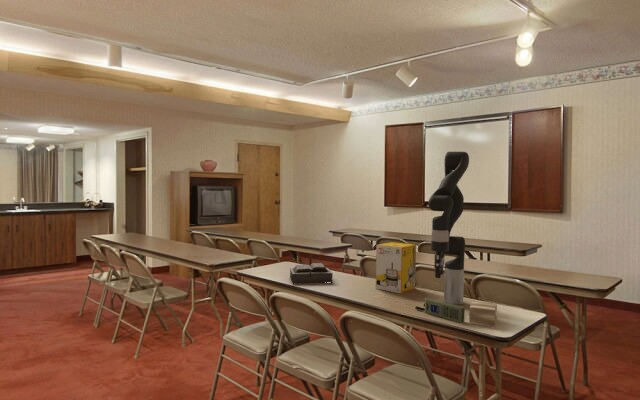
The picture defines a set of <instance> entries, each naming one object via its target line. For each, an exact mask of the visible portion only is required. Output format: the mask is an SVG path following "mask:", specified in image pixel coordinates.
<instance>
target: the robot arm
mask: <svg viewBox="0 0 640 400" xmlns="http://www.w3.org/2000/svg"><path fill="white" fill-rule="evenodd" d="M469 164H470V155H469V154H468V152H466V151H447V152H446V153H445V156H444V177H443V178H442V180H441V181H440V183H439V185H438V188H437V189H436V190H435V191H434V192H433V193H432V194H431V195H430V197H429V199H428V209H430V210H431V211H433V212H442V214H441V215H437V216H434V217H433V218H432V220H431V221H432V222H431V223H432V224H431V226H432V227H431V235H430V236H431V237H430V239H431V241H430V243H431V244H430V250H431V251H432V252H435V253H436V254H434V270H435V273H434V274H435V275H434V276H435V278H436V279H441V277H442V276H443V275H444V283H443V285H444V286H443V287H444V290H443V291H444V293H443V302H444V303H448V304H452V305H456V306H460V305H463V304H464V289H465V288H464V285H465V284H464V283H465V282H464V281H465V280H464V278H465V275H464V274H465V253H466V240H465V237H463V236H457V235H456V236H455V235H454V236H453V235H451V231H452V229H453V227H454V226H455V223H456V222H457V221H458V220H459V219H460V217H461V215H462V214H463V212H464V195H463V192H462V191H461V190H460V188H459V186H458V183H459V181H460V180H462V177H463V176H464V174H465V173H466V171H467V170H468V168H469ZM445 255H449V256H451V255H452V256H456V257H454V258H453V259H450V260H447V261H445Z"/></svg>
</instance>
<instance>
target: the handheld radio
mask: <svg viewBox="0 0 640 400" xmlns="http://www.w3.org/2000/svg"><path fill="white" fill-rule="evenodd" d="M423 299H424V300H423V302H424V304H423V307H420V306H417V305H416V306H415V309H416V310H418V311H422V312H424V314H428V315H431V316H435V317H439V318H443V319H446V320H450V321H453V322H457V323H461V324H463V323H465V312H466V311H465V310H466V309H465V307H464V306H460V305H454V304H448V303H445V302H444V301H439V300H435V299H430V298H427V297H426V298H425V297H424V298H423Z"/></svg>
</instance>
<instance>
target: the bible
mask: <svg viewBox="0 0 640 400" xmlns="http://www.w3.org/2000/svg"><path fill="white" fill-rule="evenodd" d="M289 270H290V271H289V272H290V273H289V279H290V278H291V279H290V281H292V282H291V284H292V283H325V282H326V283H327V282H332V283H333V272H332V271H331V269H330V268H328V267H325V265H324V264H323V263H322V262H318V263H317V262H313V263H311V264H310V265H309V264H296V265H295V266H294V267H293V268H289Z"/></svg>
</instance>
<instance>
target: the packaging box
mask: <svg viewBox="0 0 640 400" xmlns="http://www.w3.org/2000/svg"><path fill="white" fill-rule="evenodd" d="M375 246H376V249H375V250H376V251H375V252H376V255H375V258H376V259H375V289H376V290H379V289H381V290H380V291H385V290H386V291H387V292H390V291H391V292H392V293H397V294H403V293H406V292H409V291H411V290H412V291H413V290H415V289H416V270H417V269H416V265H417V260H416V259H417V244H413V243H412V244H411V243H402V242H390V241H389V242H385V243H380V244H376V245H375Z"/></svg>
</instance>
